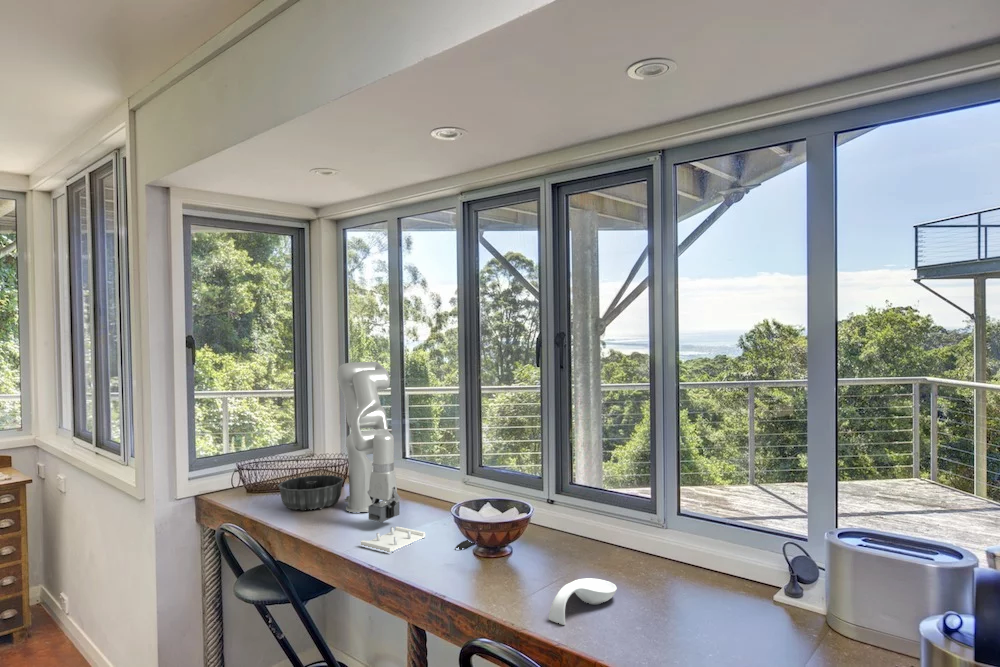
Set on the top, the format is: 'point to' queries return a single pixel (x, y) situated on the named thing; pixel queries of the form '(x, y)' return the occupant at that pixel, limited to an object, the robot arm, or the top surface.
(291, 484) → the bundt pan
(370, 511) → the block
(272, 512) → the top surface
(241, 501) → the top surface
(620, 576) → the top surface
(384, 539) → the tray
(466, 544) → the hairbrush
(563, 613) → the spoon rest
